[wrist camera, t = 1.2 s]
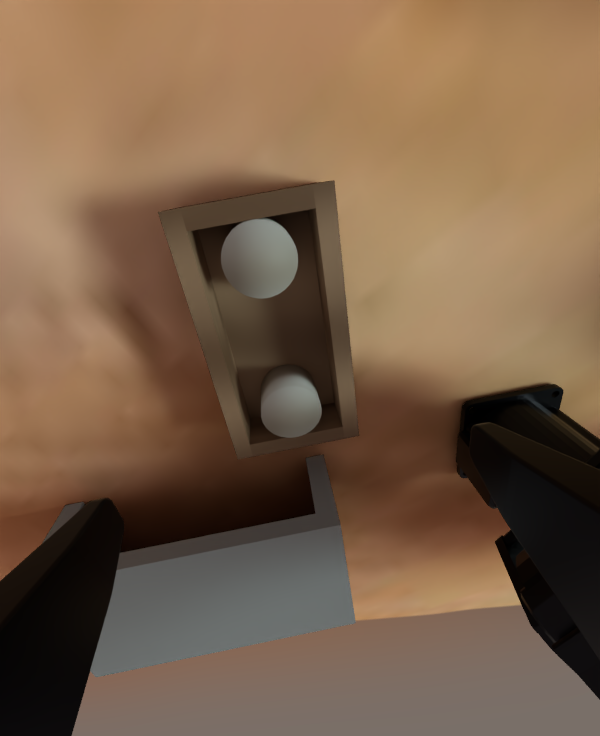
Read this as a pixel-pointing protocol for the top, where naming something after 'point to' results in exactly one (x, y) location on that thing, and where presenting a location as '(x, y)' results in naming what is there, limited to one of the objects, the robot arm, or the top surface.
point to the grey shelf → (226, 587)
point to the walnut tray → (270, 313)
